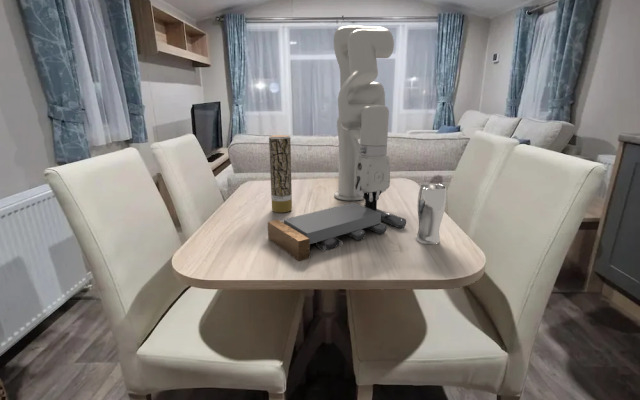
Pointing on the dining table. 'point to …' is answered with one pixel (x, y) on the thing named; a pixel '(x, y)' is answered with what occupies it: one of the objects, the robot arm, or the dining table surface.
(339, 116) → the robot arm
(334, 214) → the slab
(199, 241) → the dining table surface
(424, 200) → the beer glass
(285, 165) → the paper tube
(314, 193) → the dining table surface
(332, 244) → the roller
